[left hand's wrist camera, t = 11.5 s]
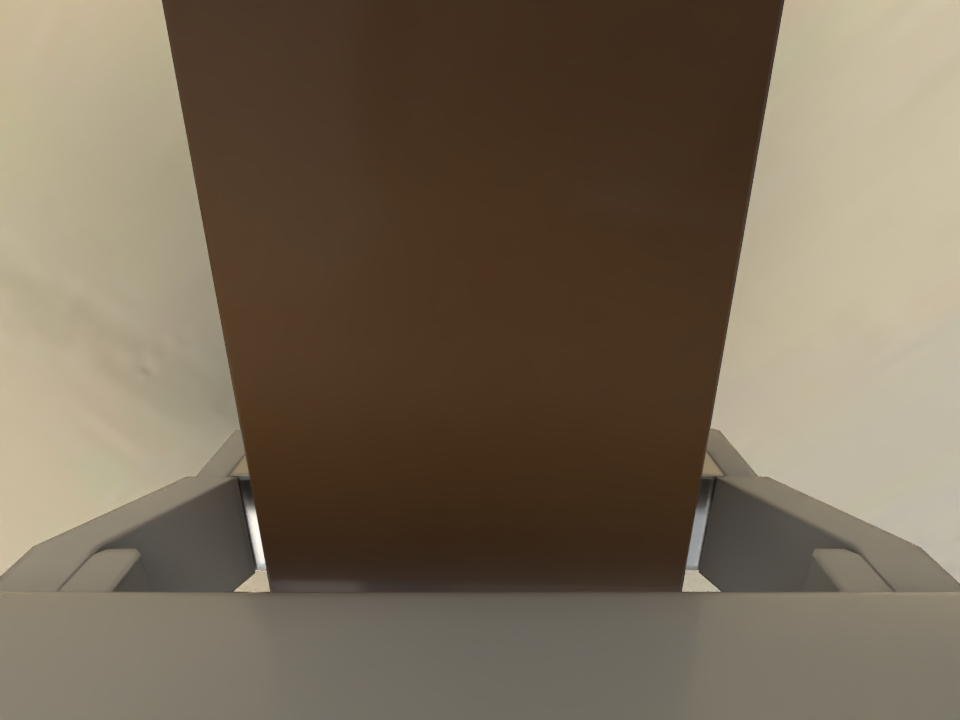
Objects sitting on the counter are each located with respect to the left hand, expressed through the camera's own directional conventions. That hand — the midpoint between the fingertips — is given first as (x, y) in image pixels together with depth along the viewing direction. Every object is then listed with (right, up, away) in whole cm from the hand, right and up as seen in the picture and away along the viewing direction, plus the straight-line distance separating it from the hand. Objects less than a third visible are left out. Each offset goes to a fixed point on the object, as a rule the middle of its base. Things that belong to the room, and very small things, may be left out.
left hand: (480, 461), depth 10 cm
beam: (0, -18, +10) cm, 20 cm away
